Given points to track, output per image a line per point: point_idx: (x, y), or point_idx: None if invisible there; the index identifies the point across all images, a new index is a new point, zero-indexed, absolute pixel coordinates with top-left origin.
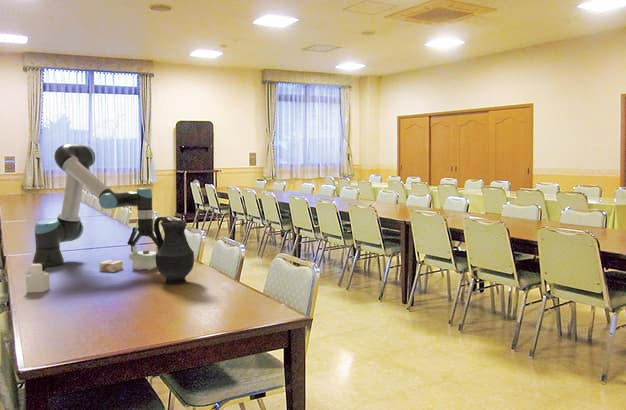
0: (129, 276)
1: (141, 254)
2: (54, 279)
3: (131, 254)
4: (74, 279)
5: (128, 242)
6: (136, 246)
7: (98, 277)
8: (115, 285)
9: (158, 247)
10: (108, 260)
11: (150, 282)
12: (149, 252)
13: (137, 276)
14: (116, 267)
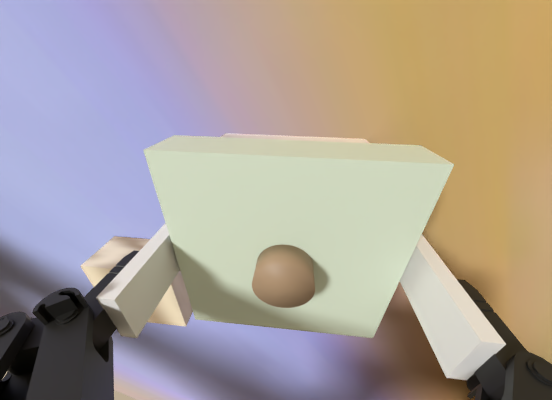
0: (308, 335)
1: (275, 307)
2: (132, 363)
3: (203, 312)
4: (177, 362)
5: (24, 381)
6: (123, 289)
7: (218, 347)
8: (323, 394)
9: (480, 367)
10: (84, 270)
11: (413, 379)
12: (296, 226)
13: (337, 334)
14: None
